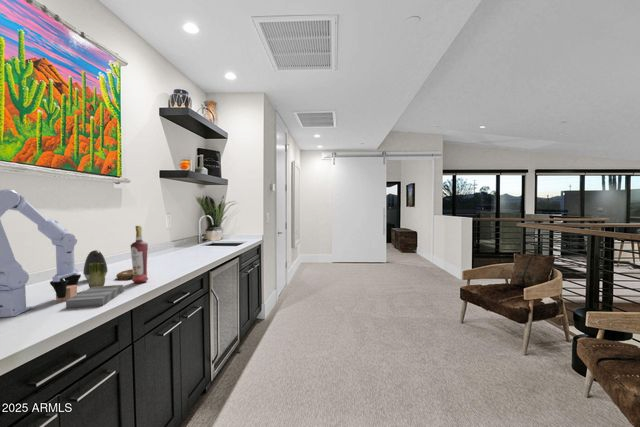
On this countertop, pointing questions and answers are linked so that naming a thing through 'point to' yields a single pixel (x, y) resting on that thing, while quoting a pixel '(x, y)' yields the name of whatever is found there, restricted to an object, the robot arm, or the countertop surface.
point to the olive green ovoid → (94, 258)
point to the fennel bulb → (96, 275)
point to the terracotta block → (69, 292)
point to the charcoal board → (94, 296)
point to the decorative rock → (125, 275)
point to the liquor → (139, 257)
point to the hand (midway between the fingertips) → (66, 295)
